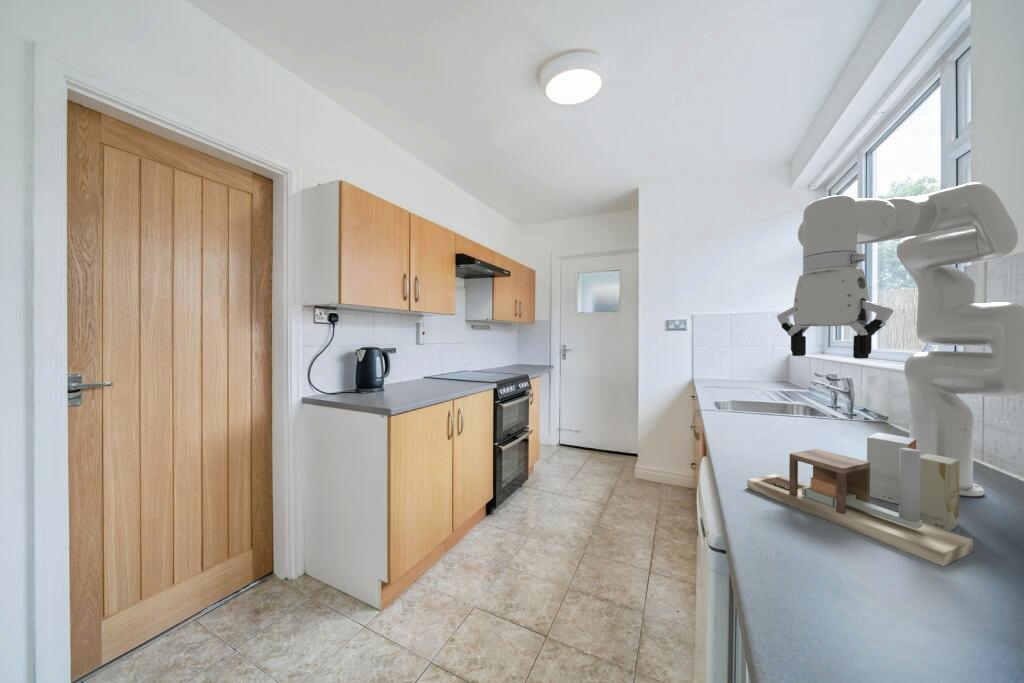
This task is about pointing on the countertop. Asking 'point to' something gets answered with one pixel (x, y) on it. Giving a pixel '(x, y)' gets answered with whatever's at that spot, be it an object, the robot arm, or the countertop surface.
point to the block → (824, 485)
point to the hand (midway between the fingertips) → (827, 357)
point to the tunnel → (834, 474)
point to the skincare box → (939, 491)
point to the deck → (872, 523)
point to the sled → (907, 493)
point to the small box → (886, 464)
